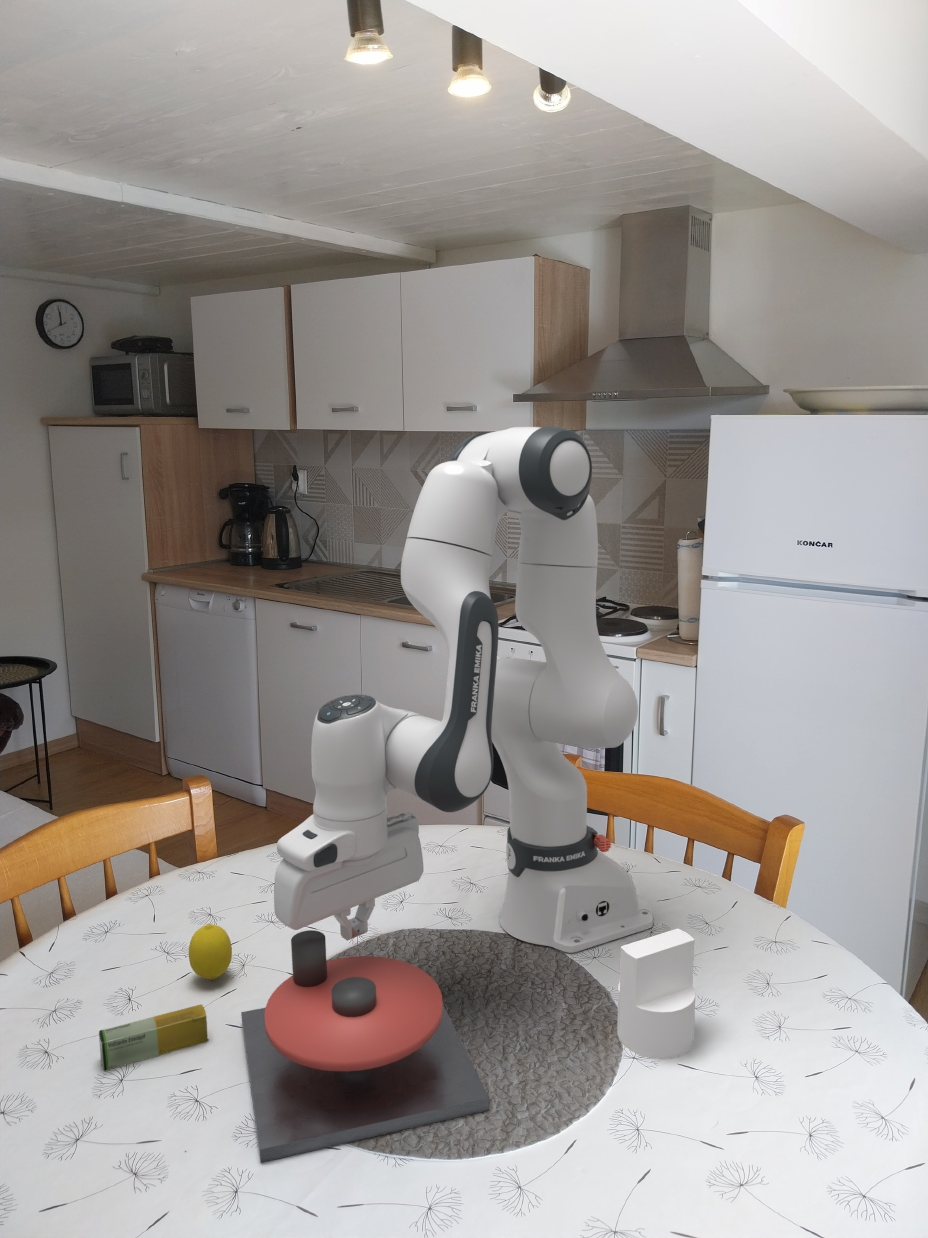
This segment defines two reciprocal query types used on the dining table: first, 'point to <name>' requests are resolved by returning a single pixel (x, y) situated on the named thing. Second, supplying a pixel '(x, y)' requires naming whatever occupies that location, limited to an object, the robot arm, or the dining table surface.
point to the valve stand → (355, 1093)
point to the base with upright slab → (657, 995)
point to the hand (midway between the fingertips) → (354, 935)
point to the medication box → (152, 1036)
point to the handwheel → (350, 1009)
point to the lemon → (210, 951)
